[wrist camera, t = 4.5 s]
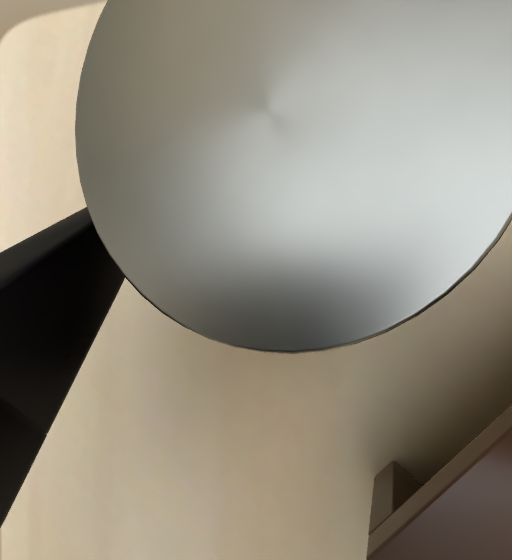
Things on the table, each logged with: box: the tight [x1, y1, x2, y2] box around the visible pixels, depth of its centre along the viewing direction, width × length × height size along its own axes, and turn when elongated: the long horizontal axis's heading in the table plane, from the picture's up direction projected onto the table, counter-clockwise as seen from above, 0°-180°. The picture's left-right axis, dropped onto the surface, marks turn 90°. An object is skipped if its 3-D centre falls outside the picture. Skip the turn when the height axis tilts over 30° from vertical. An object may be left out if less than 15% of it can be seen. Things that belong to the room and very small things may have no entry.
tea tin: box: [75, 0, 512, 354], centre depth 11 cm, size 6×6×12 cm
